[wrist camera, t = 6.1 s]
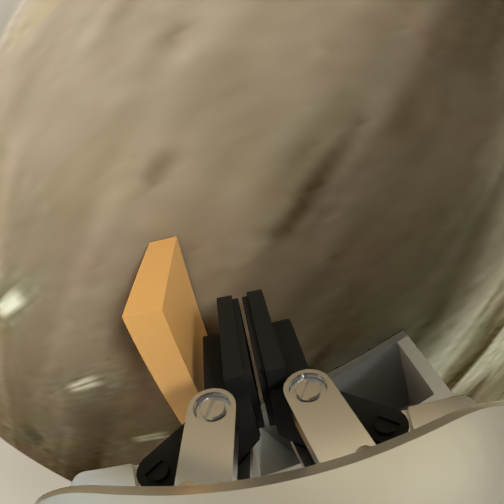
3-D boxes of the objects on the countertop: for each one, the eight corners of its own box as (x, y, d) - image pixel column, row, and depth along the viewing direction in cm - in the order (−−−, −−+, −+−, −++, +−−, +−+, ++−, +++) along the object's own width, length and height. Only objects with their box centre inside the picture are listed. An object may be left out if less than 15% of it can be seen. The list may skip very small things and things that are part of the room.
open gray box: (224, 418, 18) (233, 496, 13) (403, 329, 17) (453, 395, 12) (283, 462, 23) (297, 517, 17) (415, 397, 22) (446, 448, 16)
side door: (217, 416, 18) (225, 490, 13) (148, 241, 13) (116, 323, 8) (238, 413, 18) (249, 486, 13) (179, 234, 13) (164, 314, 8)
